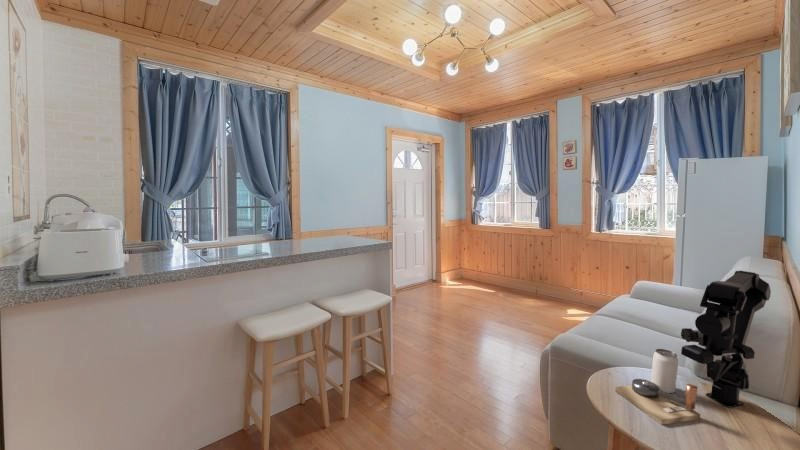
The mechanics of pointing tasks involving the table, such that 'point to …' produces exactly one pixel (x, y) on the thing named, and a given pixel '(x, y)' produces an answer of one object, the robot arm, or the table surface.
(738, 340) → the robot arm
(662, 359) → the can
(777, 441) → the table surface
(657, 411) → the stand
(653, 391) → the lever
